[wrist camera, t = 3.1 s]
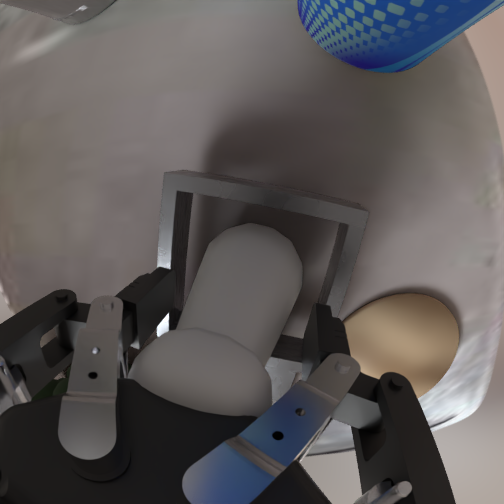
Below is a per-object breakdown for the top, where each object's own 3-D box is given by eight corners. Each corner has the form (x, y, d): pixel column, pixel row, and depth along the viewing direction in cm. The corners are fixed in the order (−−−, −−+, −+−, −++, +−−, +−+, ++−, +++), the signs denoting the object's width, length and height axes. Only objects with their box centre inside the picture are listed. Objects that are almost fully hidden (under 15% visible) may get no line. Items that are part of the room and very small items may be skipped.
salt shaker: (233, 200, 17) (94, 300, 5) (318, 238, 17) (344, 409, 5) (203, 278, 19) (95, 423, 7) (279, 312, 19) (245, 489, 7)
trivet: (347, 278, 18) (348, 282, 17) (478, 305, 17) (481, 308, 16) (300, 400, 22) (300, 404, 21) (415, 409, 21) (417, 413, 20)
